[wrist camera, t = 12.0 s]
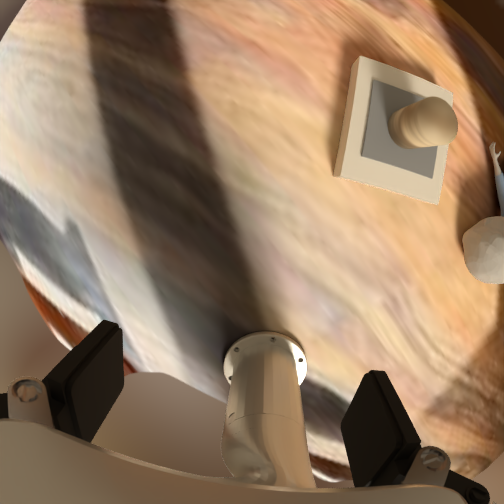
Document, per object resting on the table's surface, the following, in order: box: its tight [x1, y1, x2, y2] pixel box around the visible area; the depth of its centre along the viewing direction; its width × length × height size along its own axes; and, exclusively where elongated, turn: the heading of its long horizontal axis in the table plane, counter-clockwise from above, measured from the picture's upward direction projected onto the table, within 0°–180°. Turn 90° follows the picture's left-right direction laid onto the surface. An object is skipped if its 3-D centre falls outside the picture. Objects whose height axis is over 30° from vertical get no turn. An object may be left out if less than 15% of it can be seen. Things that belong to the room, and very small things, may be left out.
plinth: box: [333, 56, 453, 205], centre depth 33 cm, size 16×14×4 cm
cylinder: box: [388, 96, 458, 149], centre depth 27 cm, size 5×5×8 cm
